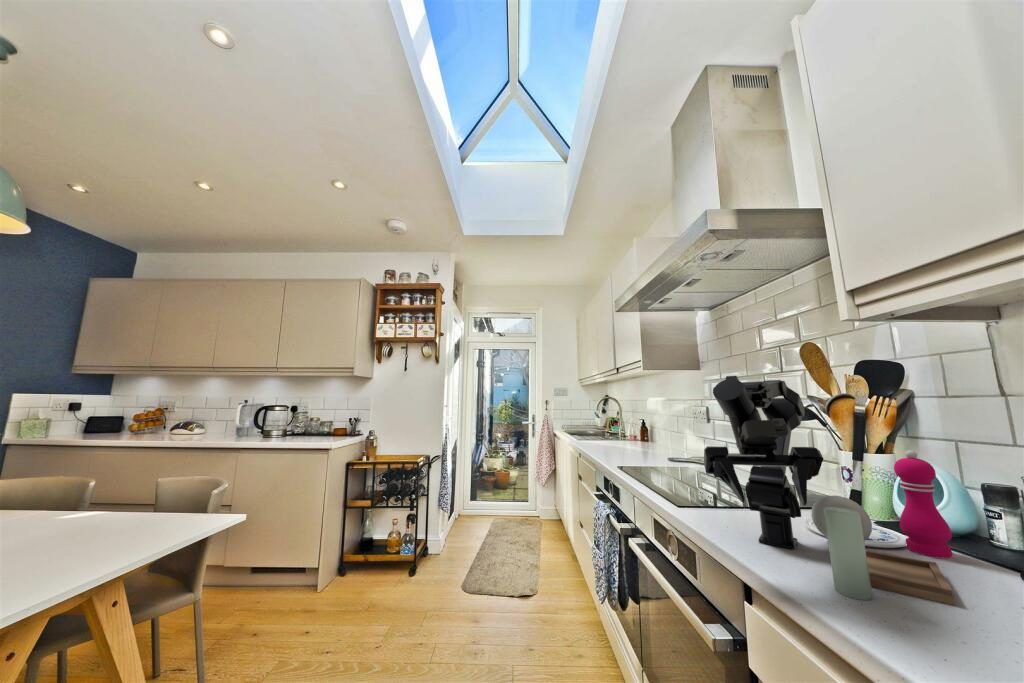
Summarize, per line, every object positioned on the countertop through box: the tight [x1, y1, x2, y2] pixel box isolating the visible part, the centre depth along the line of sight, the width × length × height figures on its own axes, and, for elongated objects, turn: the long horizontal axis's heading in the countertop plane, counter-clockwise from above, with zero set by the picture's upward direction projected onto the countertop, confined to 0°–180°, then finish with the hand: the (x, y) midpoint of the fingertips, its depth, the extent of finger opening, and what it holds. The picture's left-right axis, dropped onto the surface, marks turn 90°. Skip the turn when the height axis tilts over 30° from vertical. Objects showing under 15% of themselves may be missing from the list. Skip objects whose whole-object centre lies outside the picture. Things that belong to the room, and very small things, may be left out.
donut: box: [810, 495, 873, 542], centre depth 81 cm, size 10×4×10 cm, turn 51°
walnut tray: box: [865, 549, 955, 606], centre depth 66 cm, size 13×13×2 cm
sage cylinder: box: [824, 507, 874, 601], centre depth 62 cm, size 5×5×12 cm
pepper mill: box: [893, 449, 953, 559], centre depth 78 cm, size 7×7×20 cm
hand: (773, 502), depth 65 cm, fingers open, 9 cm apart
